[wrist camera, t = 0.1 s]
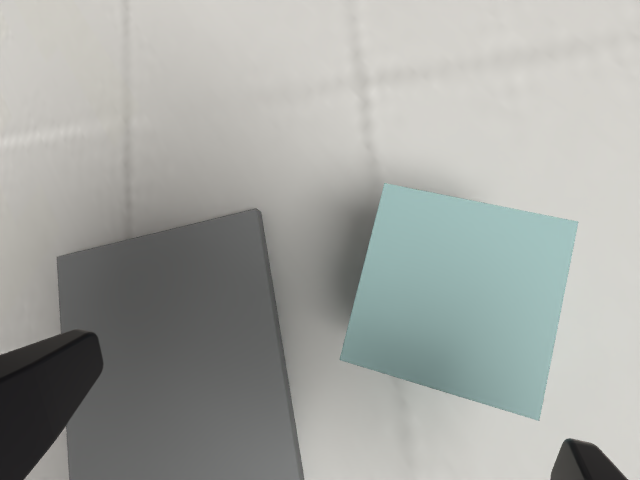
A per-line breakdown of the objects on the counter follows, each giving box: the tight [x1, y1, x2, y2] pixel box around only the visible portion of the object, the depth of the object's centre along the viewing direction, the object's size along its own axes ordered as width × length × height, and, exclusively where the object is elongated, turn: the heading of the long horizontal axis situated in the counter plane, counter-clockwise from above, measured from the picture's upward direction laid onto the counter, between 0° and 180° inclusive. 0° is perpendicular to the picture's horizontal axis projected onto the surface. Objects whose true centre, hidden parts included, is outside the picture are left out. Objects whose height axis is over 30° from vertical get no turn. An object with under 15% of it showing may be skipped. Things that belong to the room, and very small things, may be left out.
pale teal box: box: [340, 183, 578, 421], centre depth 18 cm, size 6×6×9 cm
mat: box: [57, 209, 304, 480], centre depth 24 cm, size 16×13×1 cm
